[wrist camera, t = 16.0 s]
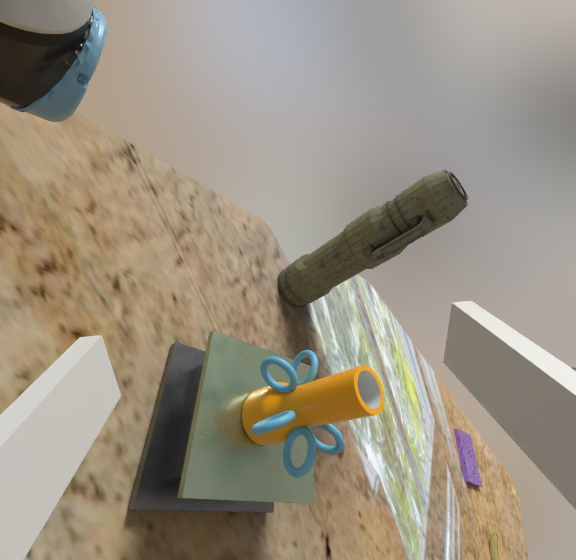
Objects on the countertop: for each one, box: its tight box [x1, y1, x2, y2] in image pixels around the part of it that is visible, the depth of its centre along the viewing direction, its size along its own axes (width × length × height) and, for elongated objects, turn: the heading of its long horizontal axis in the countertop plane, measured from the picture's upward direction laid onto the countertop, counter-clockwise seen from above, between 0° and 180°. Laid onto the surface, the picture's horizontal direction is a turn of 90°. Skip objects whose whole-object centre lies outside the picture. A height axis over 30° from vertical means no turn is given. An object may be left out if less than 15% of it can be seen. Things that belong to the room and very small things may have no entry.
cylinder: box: [242, 350, 384, 478], centre depth 31 cm, size 12×10×15 cm
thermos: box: [278, 170, 468, 307], centre depth 55 cm, size 9×12×35 cm
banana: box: [490, 533, 500, 560], centre depth 70 cm, size 8×2×4 cm, turn 165°
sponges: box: [454, 429, 483, 487], centre depth 83 cm, size 7×13×2 cm, turn 169°
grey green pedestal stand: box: [128, 331, 314, 512], centre depth 39 cm, size 18×18×10 cm
